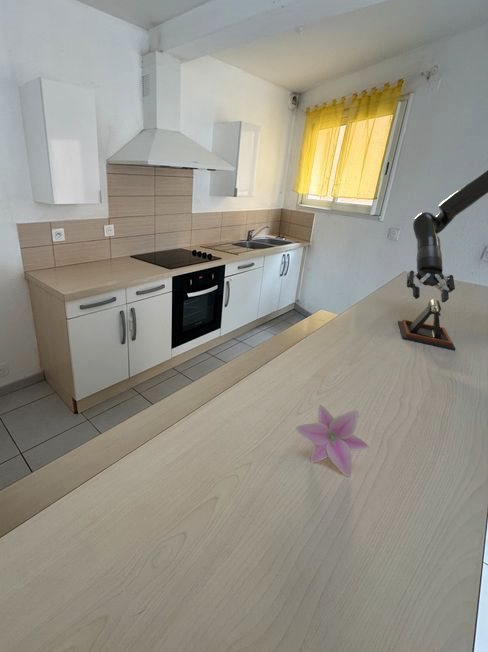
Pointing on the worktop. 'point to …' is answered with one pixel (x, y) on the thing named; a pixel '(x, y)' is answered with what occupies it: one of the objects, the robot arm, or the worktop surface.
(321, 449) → the lily
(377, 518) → the worktop surface
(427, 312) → the phone stand
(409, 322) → the rimmed tray
